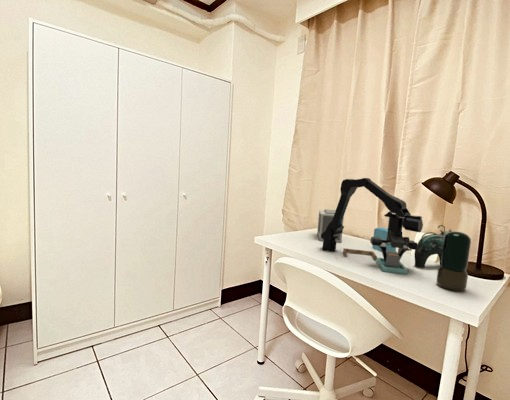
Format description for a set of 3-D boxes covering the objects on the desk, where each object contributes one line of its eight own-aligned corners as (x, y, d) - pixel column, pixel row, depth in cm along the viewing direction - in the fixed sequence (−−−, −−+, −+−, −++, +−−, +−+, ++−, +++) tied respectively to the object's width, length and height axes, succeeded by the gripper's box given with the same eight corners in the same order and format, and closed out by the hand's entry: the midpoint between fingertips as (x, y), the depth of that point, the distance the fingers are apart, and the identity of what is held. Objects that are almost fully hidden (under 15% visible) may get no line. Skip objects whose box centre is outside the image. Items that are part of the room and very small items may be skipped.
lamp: (455, 294, 104) (463, 235, 101) (430, 283, 112) (437, 229, 110) (471, 290, 108) (479, 234, 105) (446, 281, 116) (453, 228, 114)
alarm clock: (316, 234, 188) (319, 207, 186) (337, 236, 187) (339, 208, 185) (319, 241, 170) (321, 211, 168) (341, 243, 169) (344, 213, 166)
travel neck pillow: (445, 264, 139) (450, 224, 137) (457, 268, 133) (463, 227, 130) (410, 265, 135) (415, 223, 132) (421, 270, 128) (426, 226, 126)
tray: (382, 271, 124) (382, 267, 123) (375, 261, 137) (376, 257, 137) (407, 274, 122) (407, 270, 121) (398, 263, 135) (398, 259, 135)
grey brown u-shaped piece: (344, 256, 142) (344, 253, 142) (343, 251, 150) (343, 248, 150) (376, 260, 139) (376, 256, 138) (373, 255, 147) (373, 251, 147)
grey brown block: (386, 266, 126) (387, 254, 125) (383, 260, 134) (384, 249, 134) (398, 267, 124) (400, 256, 124) (395, 261, 133) (396, 250, 132)
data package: (395, 253, 152) (398, 231, 151) (389, 254, 151) (391, 232, 149) (377, 247, 163) (380, 227, 162) (372, 248, 161) (374, 227, 160)
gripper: (376, 229, 121) (372, 264, 123) (424, 233, 117) (419, 270, 119) (371, 224, 132) (368, 256, 134) (415, 228, 128) (411, 261, 130)
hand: (391, 261), depth 129 cm, fingers closed on grey brown block, 5 cm apart
